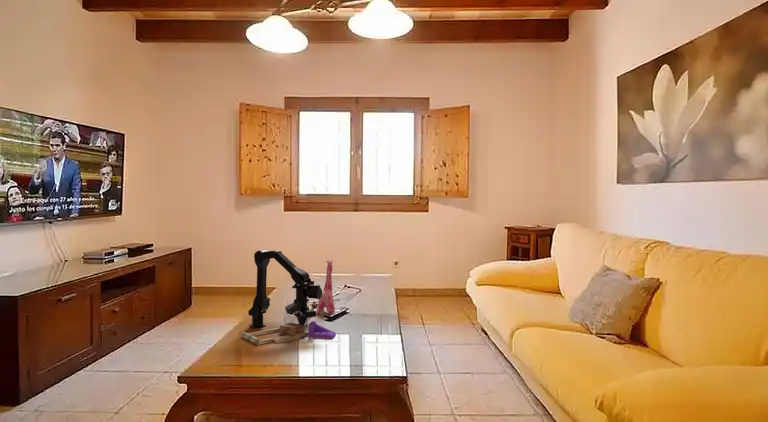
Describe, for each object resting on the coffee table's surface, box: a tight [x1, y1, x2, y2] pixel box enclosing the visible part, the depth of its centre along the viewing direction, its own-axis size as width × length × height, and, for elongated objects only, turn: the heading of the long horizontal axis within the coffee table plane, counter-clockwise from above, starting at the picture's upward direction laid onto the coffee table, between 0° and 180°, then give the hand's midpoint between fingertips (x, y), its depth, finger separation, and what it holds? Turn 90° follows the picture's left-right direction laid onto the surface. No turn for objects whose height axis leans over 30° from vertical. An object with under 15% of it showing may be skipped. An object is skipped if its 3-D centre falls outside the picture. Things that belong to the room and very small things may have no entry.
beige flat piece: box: [241, 327, 308, 346], centre depth 281 cm, size 19×28×2 cm
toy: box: [316, 258, 336, 316], centre depth 334 cm, size 9×26×30 cm, turn 174°
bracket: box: [307, 320, 337, 340], centre depth 283 cm, size 12×7×7 cm, turn 82°
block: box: [279, 321, 306, 337], centre depth 287 cm, size 10×7×4 cm
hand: (301, 328), depth 291 cm, fingers closed
